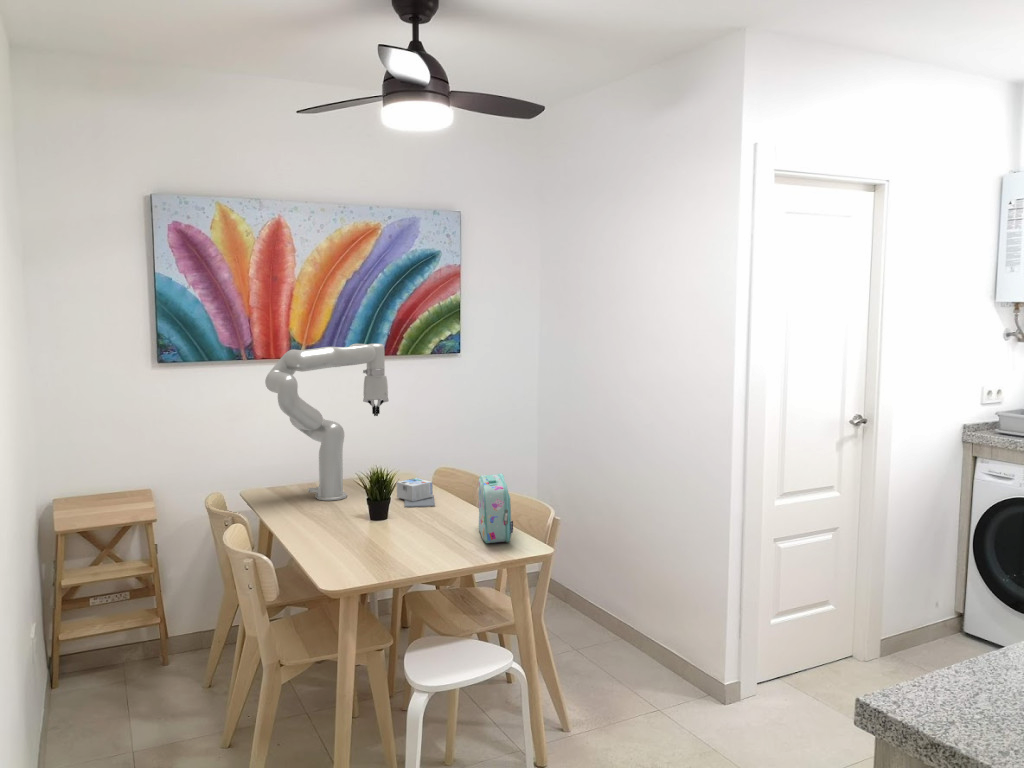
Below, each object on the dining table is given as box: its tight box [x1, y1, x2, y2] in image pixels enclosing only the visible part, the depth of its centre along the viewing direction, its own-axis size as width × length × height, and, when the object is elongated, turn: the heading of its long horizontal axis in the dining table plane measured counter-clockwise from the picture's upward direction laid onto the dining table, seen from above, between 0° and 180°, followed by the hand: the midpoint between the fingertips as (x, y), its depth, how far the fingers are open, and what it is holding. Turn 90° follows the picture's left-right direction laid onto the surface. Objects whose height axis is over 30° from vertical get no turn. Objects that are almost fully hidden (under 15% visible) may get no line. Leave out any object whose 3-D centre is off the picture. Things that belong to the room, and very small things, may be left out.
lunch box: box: [478, 473, 514, 544], centre depth 271 cm, size 27×10×21 cm, turn 8°
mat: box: [404, 494, 436, 508], centre depth 317 cm, size 12×16×1 cm
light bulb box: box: [396, 477, 434, 502], centre depth 321 cm, size 11×7×11 cm
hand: (376, 415), depth 334 cm, fingers closed
